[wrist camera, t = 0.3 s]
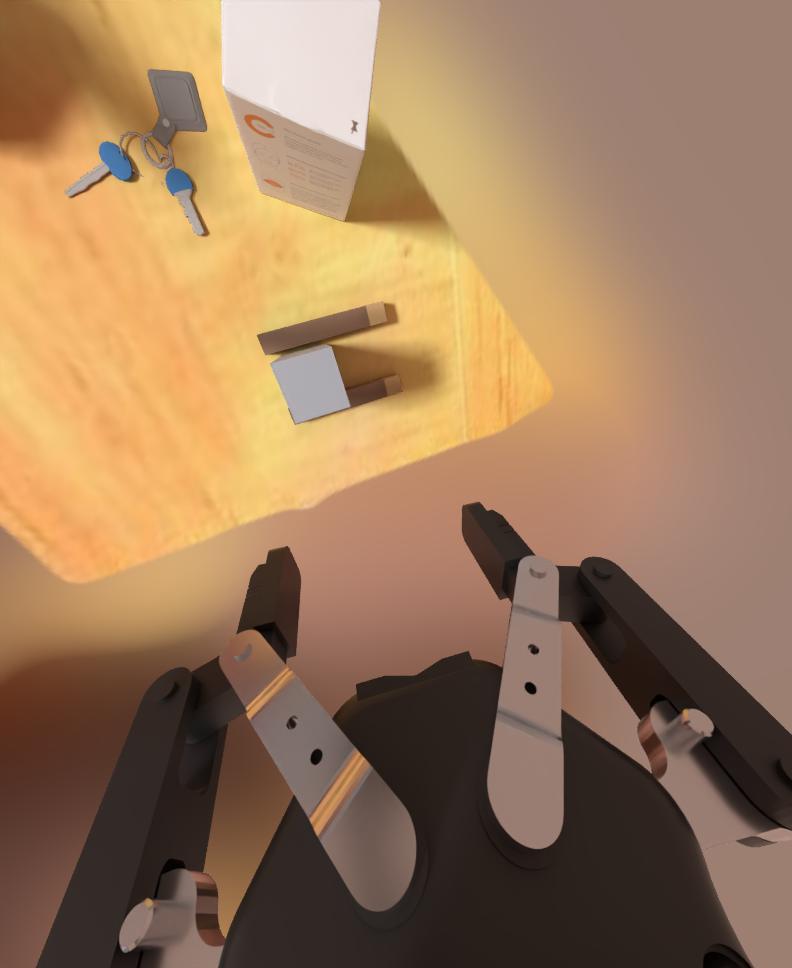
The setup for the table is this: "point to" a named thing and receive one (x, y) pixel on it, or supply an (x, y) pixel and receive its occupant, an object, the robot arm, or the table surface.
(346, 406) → the slate block
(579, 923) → the robot arm
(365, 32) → the small box
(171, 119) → the key chain
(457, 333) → the table surface
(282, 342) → the pair of brown sticks
